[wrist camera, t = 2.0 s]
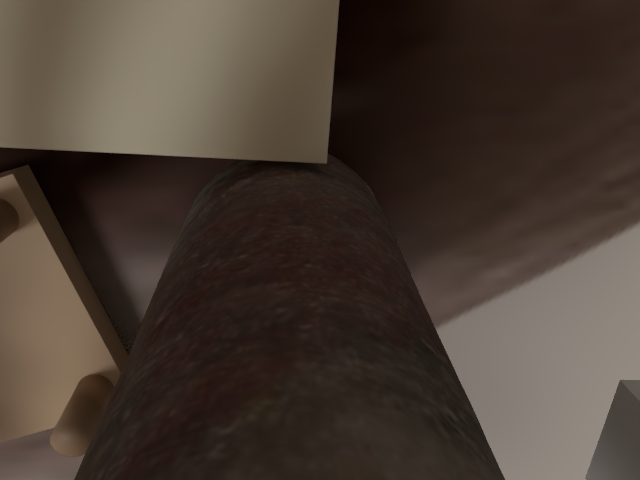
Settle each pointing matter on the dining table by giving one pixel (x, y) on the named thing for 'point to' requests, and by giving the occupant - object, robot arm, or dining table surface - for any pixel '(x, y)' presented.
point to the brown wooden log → (287, 347)
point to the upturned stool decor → (49, 326)
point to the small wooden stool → (169, 77)
